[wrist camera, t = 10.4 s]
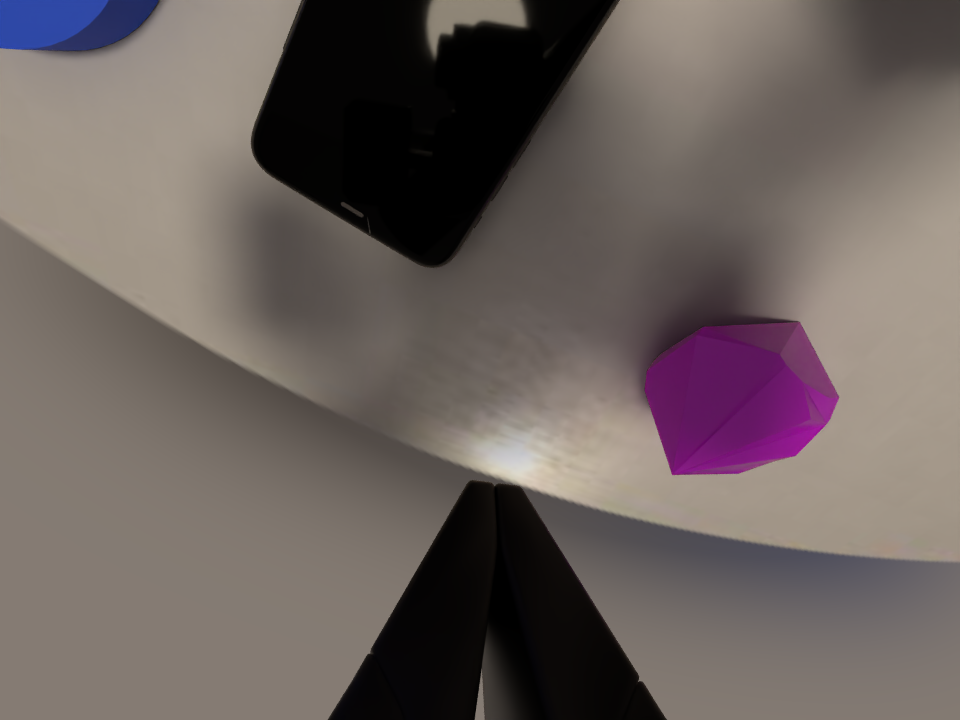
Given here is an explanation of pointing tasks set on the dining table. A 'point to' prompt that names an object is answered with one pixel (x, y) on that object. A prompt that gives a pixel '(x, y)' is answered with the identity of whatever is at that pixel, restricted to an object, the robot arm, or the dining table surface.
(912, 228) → the dining table surface
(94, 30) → the bracket
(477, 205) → the smartphone
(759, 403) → the crystal
